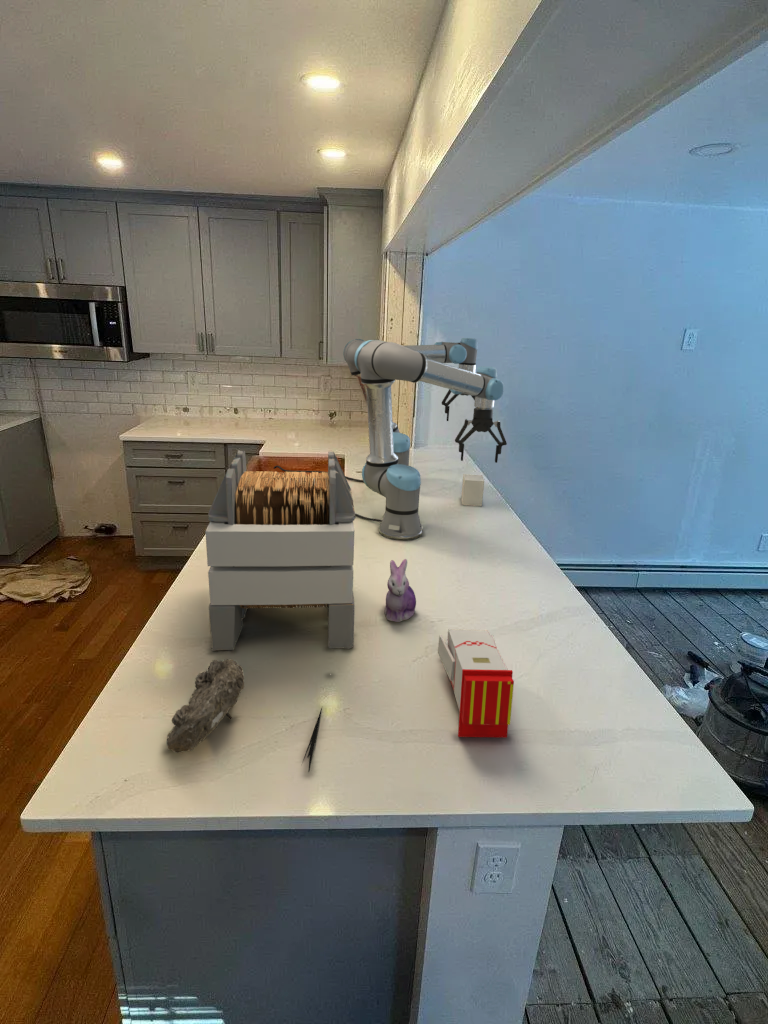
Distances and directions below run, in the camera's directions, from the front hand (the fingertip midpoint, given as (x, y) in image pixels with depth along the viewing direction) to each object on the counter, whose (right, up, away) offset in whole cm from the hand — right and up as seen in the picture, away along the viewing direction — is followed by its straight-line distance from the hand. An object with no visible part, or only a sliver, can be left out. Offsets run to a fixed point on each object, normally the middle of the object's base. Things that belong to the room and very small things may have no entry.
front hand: (478, 461), depth 227 cm
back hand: (-2, +21, +34) cm, 40 cm away
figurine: (-34, -47, -80) cm, 99 cm away
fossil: (-71, -60, -119) cm, 151 cm away
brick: (-2, -16, +9) cm, 19 cm away
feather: (-50, -60, -119) cm, 142 cm away
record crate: (-63, -47, -82) cm, 113 cm away
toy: (-20, -58, -109) cm, 125 cm away
